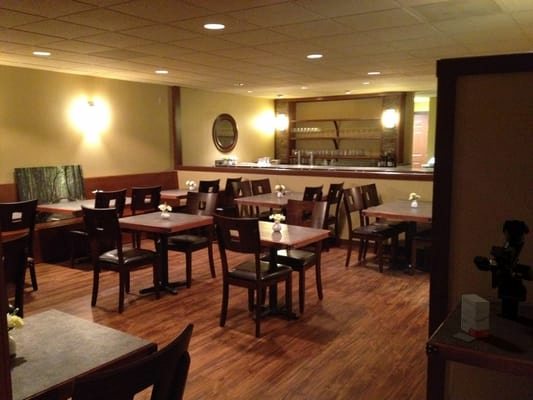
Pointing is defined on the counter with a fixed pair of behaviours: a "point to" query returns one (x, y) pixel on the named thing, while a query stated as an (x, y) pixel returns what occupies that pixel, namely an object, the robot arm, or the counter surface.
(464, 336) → the mat
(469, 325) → the ink box
